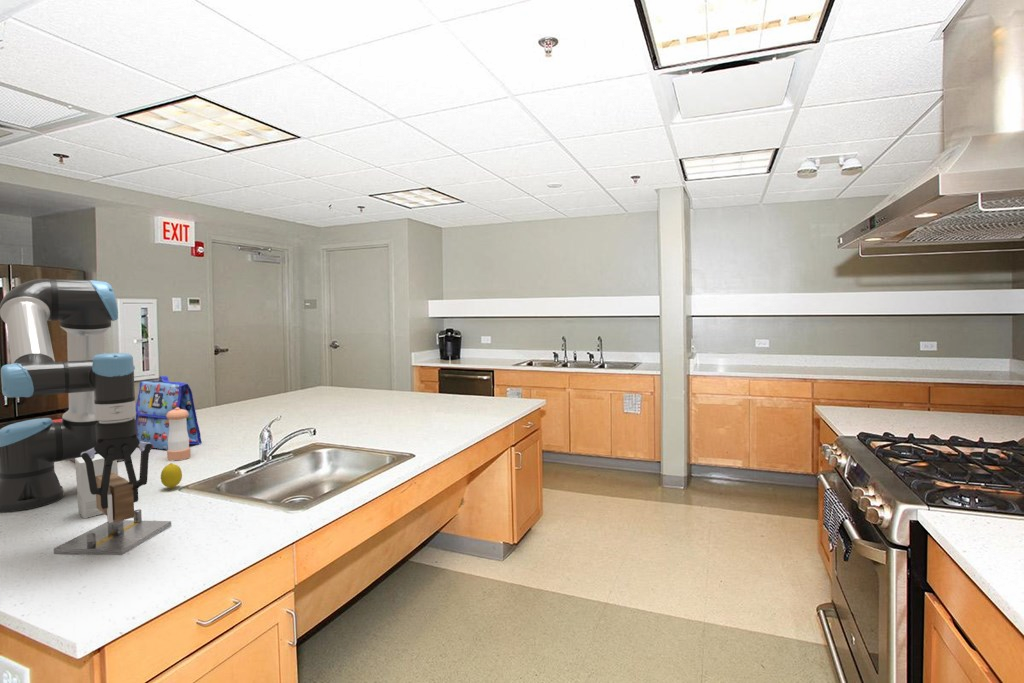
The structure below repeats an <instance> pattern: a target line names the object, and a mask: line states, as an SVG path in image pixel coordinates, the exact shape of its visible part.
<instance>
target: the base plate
mask: <svg viewBox="0 0 1024 683" xmlns="http://www.w3.org/2000/svg"><path fill="white" fill-rule="evenodd" d="M171 527H172V521H171V520H142V509H134V517H133V520H131V519H130V520H129V519H126V520H122V521H118V522H115V521H114V520H113V522H111V523H109V522H108V517H107V520H106V522H104V523H102V524H100V525H98V526H96V527H94V528H91V529H89V530H88V531H86V532H84V533H81V534H80V535H78V536H76V537H73V538H71V539H70V540H68V541H66V542H63V543H61V544H60V545H58V546H56V547H54V548H53V554H55V555H57V554H58V555H59V554H60V555H64V554H65V555H103V556H105V555H107V556H112V555H113V556H116V555H117V556H123V555H125V554H127V553H128V552H130V551H132V550H133V549H134V548H137V547H138V546H140V545H142V544H143V543H145V542H147V541H148V540H150V539H151V538H153V537H155V536H157V535H158V534H160V533H162V532H163V531H165V530H167V529H168V528H171Z"/></svg>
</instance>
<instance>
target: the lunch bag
mask: <svg viewBox="0 0 1024 683" xmlns="http://www.w3.org/2000/svg"><path fill="white" fill-rule="evenodd" d="M175 408H180V409H184V410H187V412H188V413H189V415H188V417H187V418H186V421H187V432H188V437H189V445H200V444H199V443H201V444H202V438H201V436H202V435H201V430H200V426H199V423H198V416H197V412H196V408H195V403H194V395H193V391H192V389H191V387H190V385H189V384H188V383H187V382H186V383H185V382H179V381H177V382H175V381H170V380H169V377H168V375H159V378H158V380H156V381H155V380H152V381H151V380H150V381H148V380H144V381H140V382H139V388H138V395H137V399H136V401H135V410H136V416H135V420H136V429H137V437H138V439H139V440H140V441H141V442H150V443H151V444H152V448H151V449H153V448H157V449H156V450H163V449H166V450H165V451H167V450H168V436H169V419H167V417H166V415H167V413H168V412H169V411H171V410H175ZM138 447H139V446H137V448H138Z"/></svg>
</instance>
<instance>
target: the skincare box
mask: <svg viewBox="0 0 1024 683" xmlns="http://www.w3.org/2000/svg"><path fill="white" fill-rule="evenodd" d="M92 461H93V465H94V471H95V476H99V475H102V474H103V467H104V458H103V457H102V456H101V455H99V454H95V457H94V459H92ZM74 463H75V464H74V466H75V476H76V492H77V508H78V513H80V514H81V515H82V516H81V515H80V514H79V515H80V516H81V517H82V518H83V519H84V518H85V519H89V518H92V516H93V517H96V515H97V516H100V515H105V514H104V513H103V512H101V511H100V510H99V509H97V503H96V494H95V495H93V494H91V492H90V488H89V482H88V476H87V469H86V463H85V461H84V460H83V459H82V457H79V458H75V462H74ZM111 473H115V474H116V475H118V476H119V469H118V462H117V460H115V461H113V464H112V468H111ZM88 517H89V518H88Z"/></svg>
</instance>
